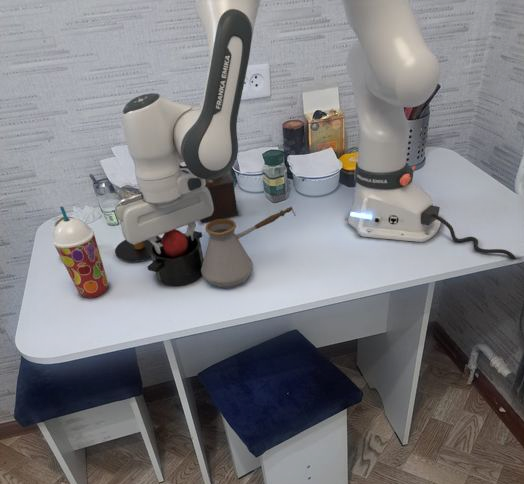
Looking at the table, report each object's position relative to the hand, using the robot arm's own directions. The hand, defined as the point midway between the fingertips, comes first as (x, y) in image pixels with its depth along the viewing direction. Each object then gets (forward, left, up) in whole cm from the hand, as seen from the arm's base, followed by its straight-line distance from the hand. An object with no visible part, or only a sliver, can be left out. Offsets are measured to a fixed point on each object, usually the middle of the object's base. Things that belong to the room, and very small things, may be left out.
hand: (175, 246), depth 104 cm
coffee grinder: (+12, -27, -7) cm, 30 cm away
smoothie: (+14, +14, -7) cm, 21 cm away
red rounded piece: (0, 0, -3) cm, 3 cm away
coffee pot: (-15, -5, -7) cm, 18 cm away
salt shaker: (+30, +4, -7) cm, 31 cm away
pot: (0, 0, -7) cm, 7 cm away
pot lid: (+16, -4, -6) cm, 18 cm away
